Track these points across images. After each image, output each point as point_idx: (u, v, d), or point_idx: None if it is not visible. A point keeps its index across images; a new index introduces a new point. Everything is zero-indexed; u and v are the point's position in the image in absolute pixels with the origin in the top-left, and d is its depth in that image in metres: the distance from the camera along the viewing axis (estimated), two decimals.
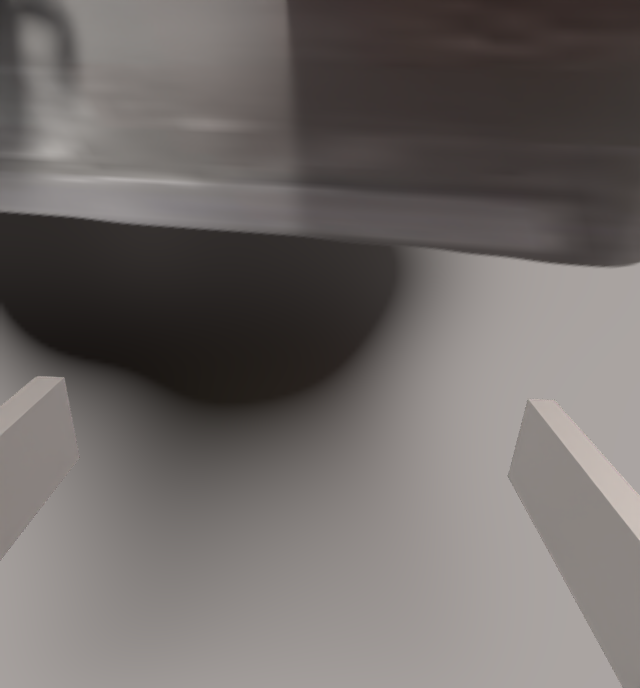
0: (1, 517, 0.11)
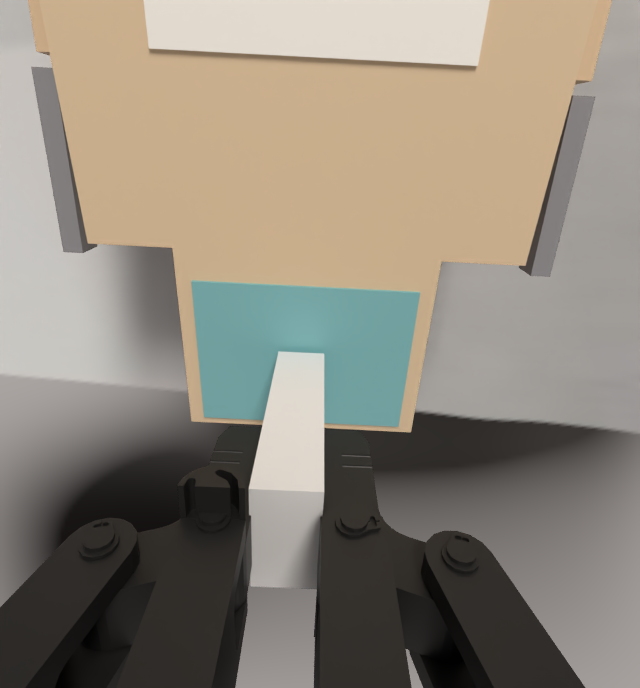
0: None
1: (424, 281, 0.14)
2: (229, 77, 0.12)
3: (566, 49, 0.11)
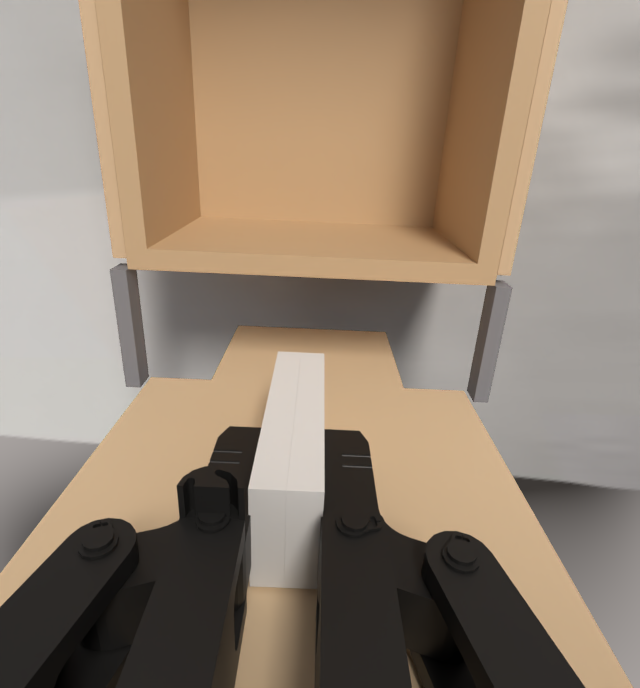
0: None
1: None
2: None
3: None
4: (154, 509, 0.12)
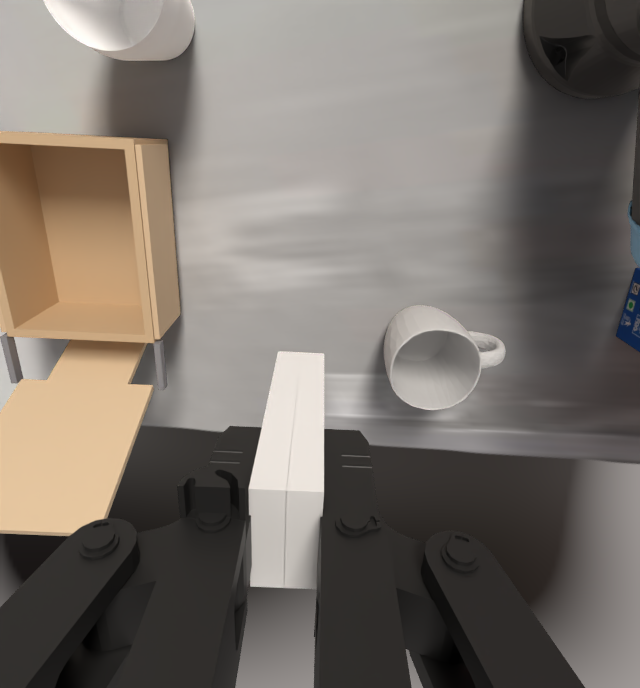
0: None
1: None
2: None
3: None
4: (10, 445, 0.41)
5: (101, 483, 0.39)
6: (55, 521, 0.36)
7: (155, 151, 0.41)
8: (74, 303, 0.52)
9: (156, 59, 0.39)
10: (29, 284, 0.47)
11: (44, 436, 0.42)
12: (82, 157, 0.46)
